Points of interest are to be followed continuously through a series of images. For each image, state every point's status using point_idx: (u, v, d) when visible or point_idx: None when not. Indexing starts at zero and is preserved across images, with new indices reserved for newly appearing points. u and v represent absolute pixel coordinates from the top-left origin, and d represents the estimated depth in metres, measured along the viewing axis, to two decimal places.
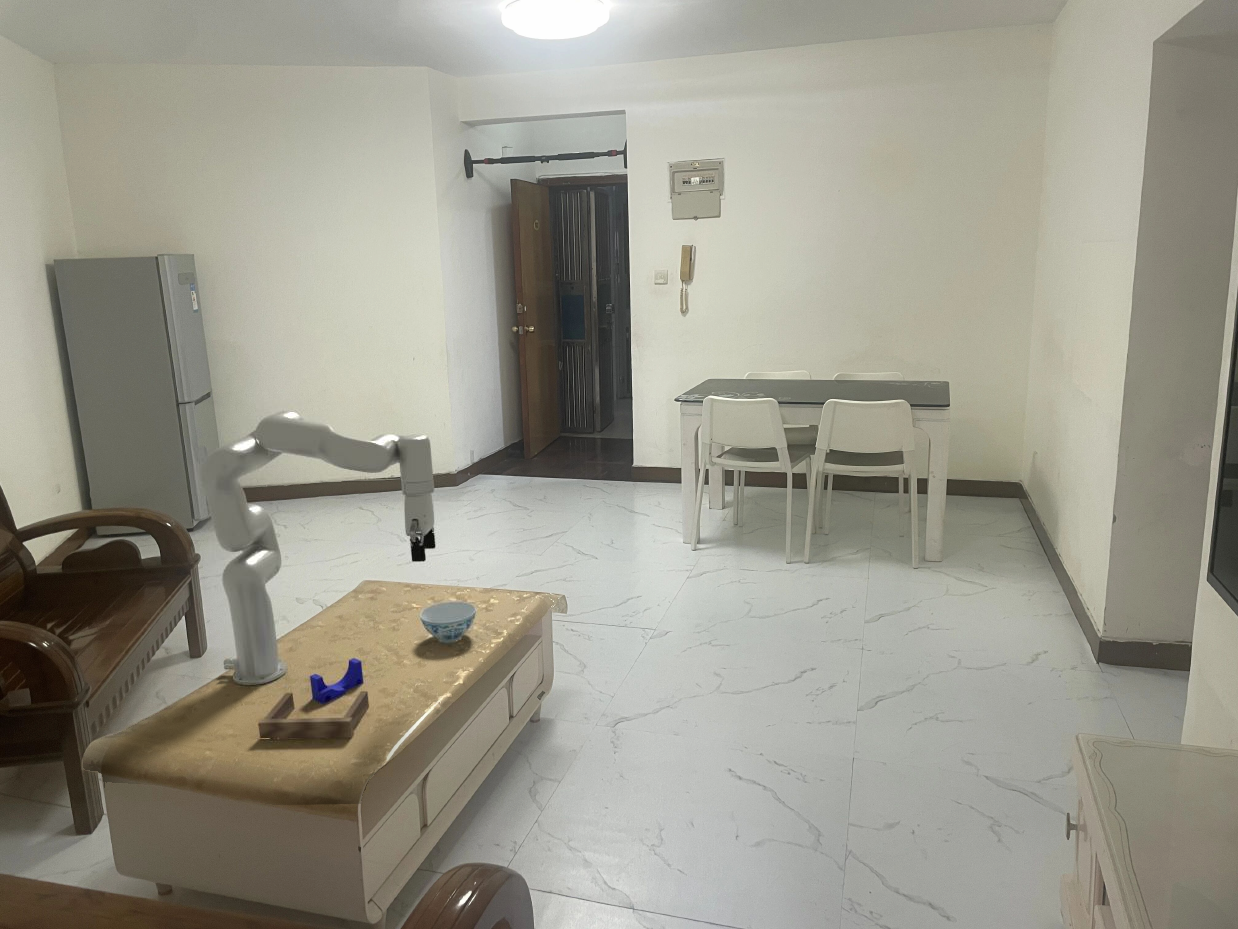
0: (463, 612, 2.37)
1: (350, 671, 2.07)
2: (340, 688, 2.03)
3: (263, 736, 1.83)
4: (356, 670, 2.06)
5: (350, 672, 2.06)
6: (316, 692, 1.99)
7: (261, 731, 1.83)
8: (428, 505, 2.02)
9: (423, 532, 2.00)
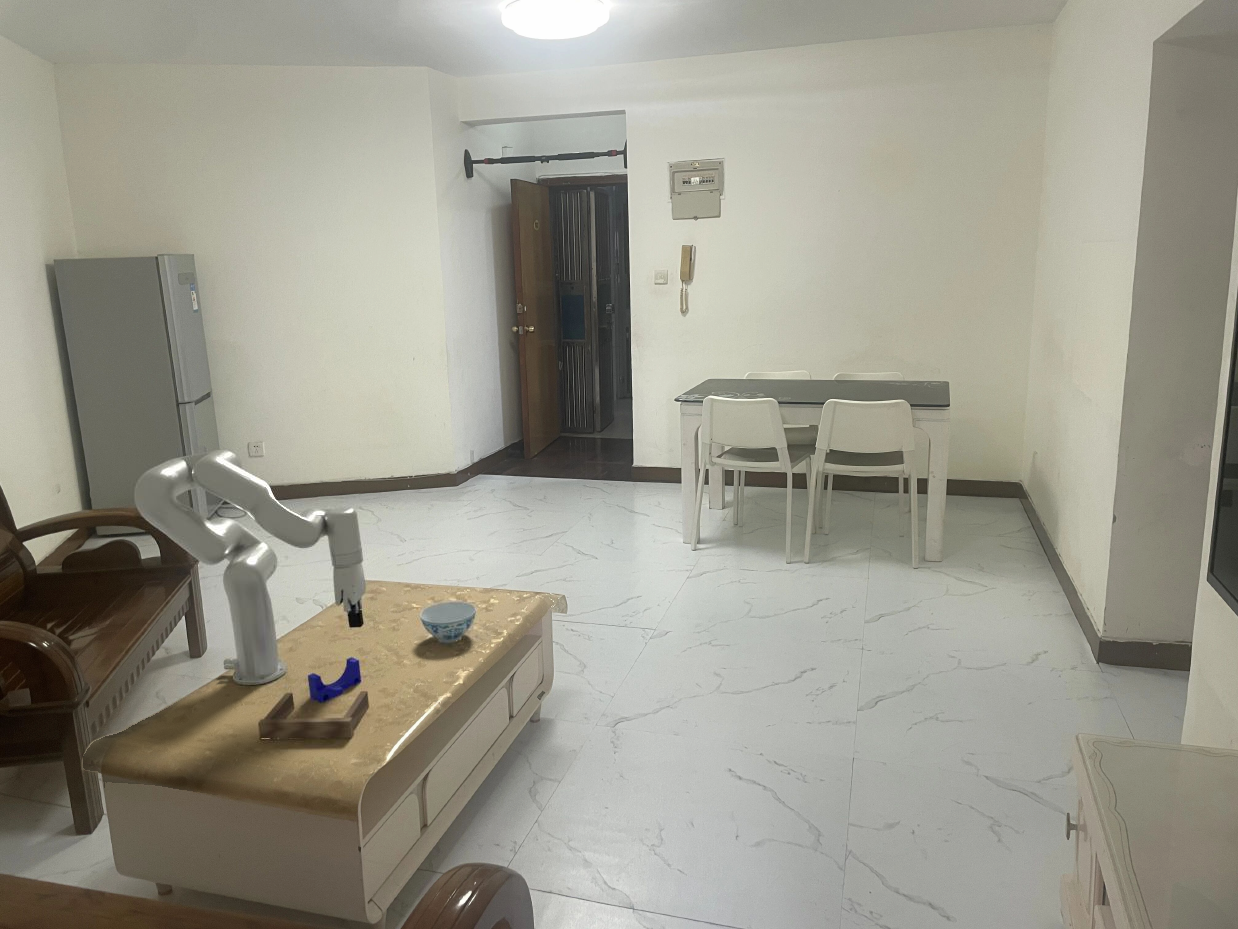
0: (463, 612, 2.37)
1: (348, 670, 2.07)
2: (338, 687, 2.03)
3: (263, 736, 1.83)
4: (354, 669, 2.06)
5: (348, 671, 2.07)
6: (314, 692, 2.00)
7: (261, 731, 1.83)
8: (357, 575, 2.10)
9: (352, 602, 2.08)
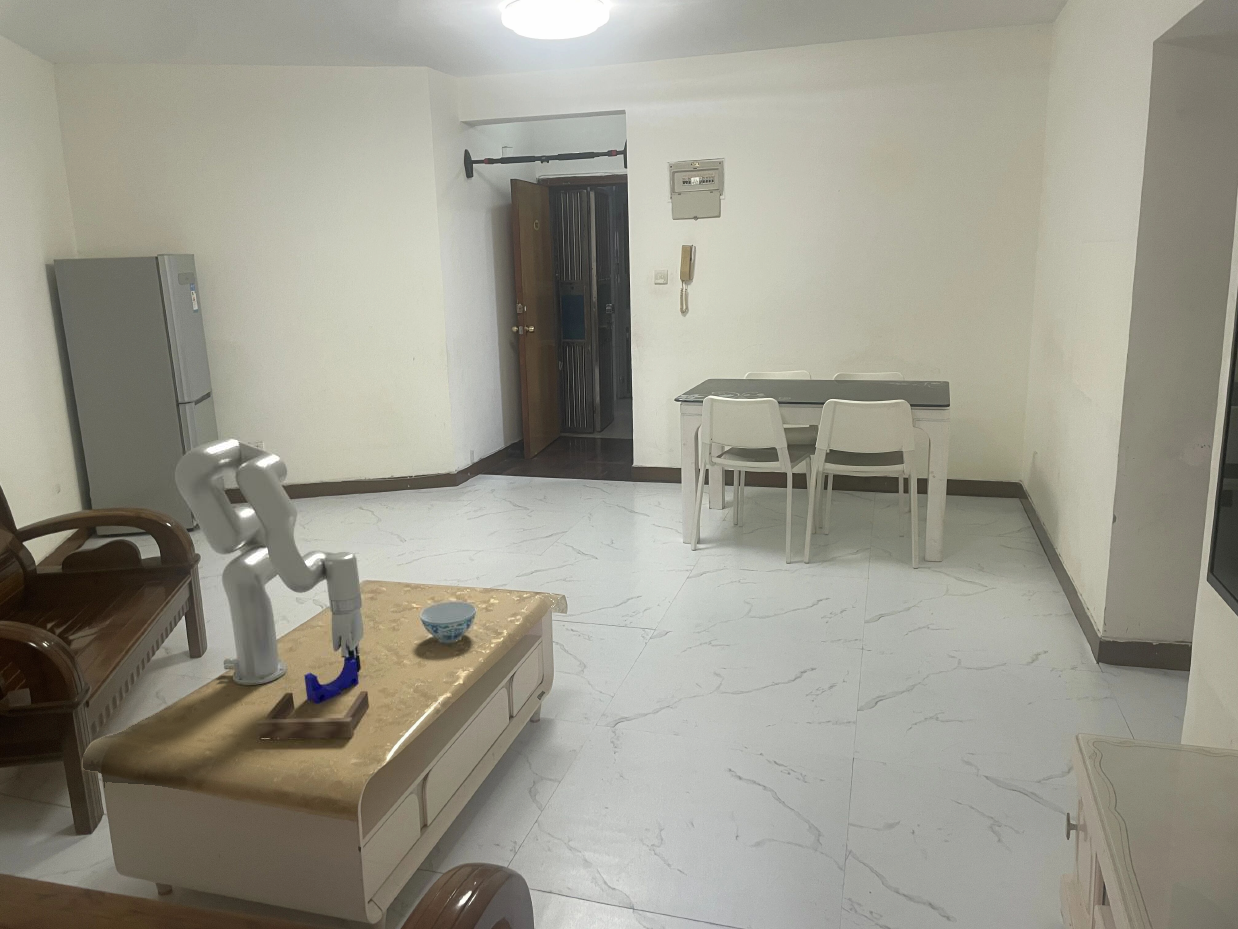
0: (463, 612, 2.37)
1: (345, 670, 2.06)
2: (335, 687, 2.02)
3: (263, 736, 1.83)
4: (351, 669, 2.06)
5: (345, 671, 2.06)
6: (310, 691, 1.99)
7: (261, 731, 1.83)
8: (355, 620, 2.08)
9: (350, 648, 2.06)
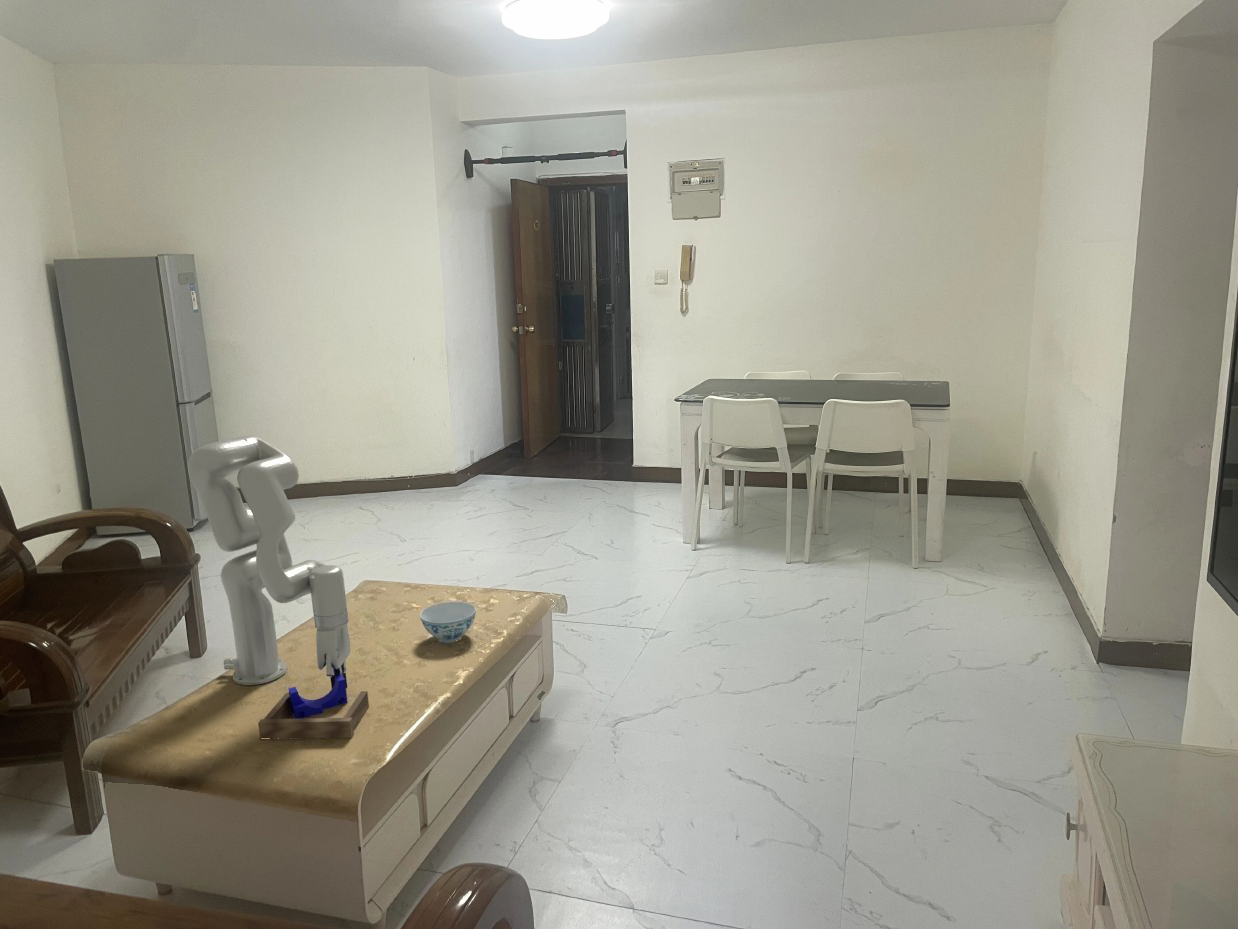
0: (463, 612, 2.37)
1: (335, 688, 1.98)
2: (318, 705, 1.94)
3: (263, 736, 1.83)
4: (338, 688, 1.97)
5: (334, 689, 1.97)
6: (292, 706, 1.93)
7: (261, 731, 1.83)
8: (341, 637, 1.99)
9: (336, 666, 1.96)
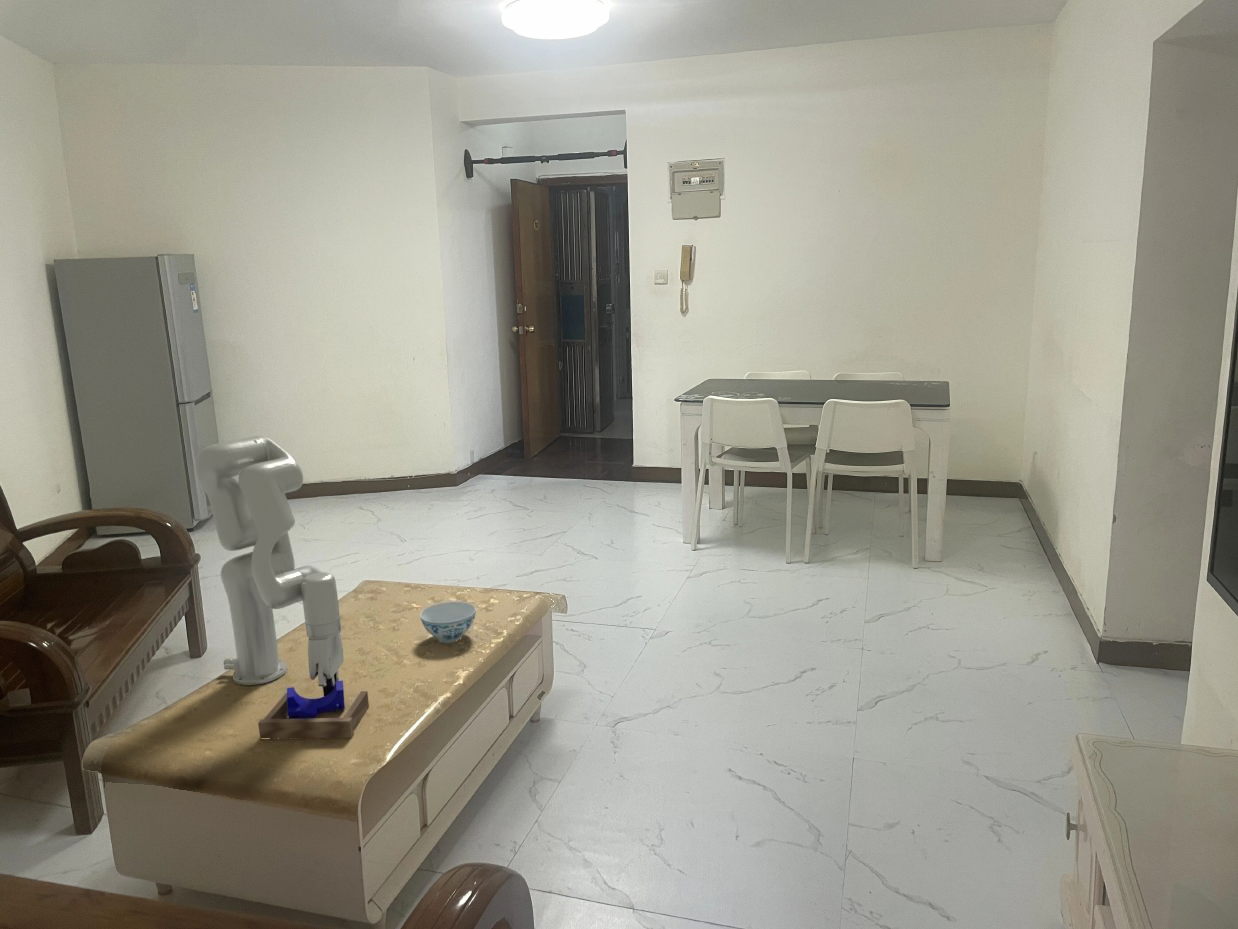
0: (463, 612, 2.37)
1: (333, 693, 1.94)
2: (314, 709, 1.92)
3: (263, 736, 1.83)
4: (336, 696, 1.92)
5: (333, 695, 1.94)
6: None
7: (261, 731, 1.83)
8: (334, 646, 1.94)
9: (328, 676, 1.91)
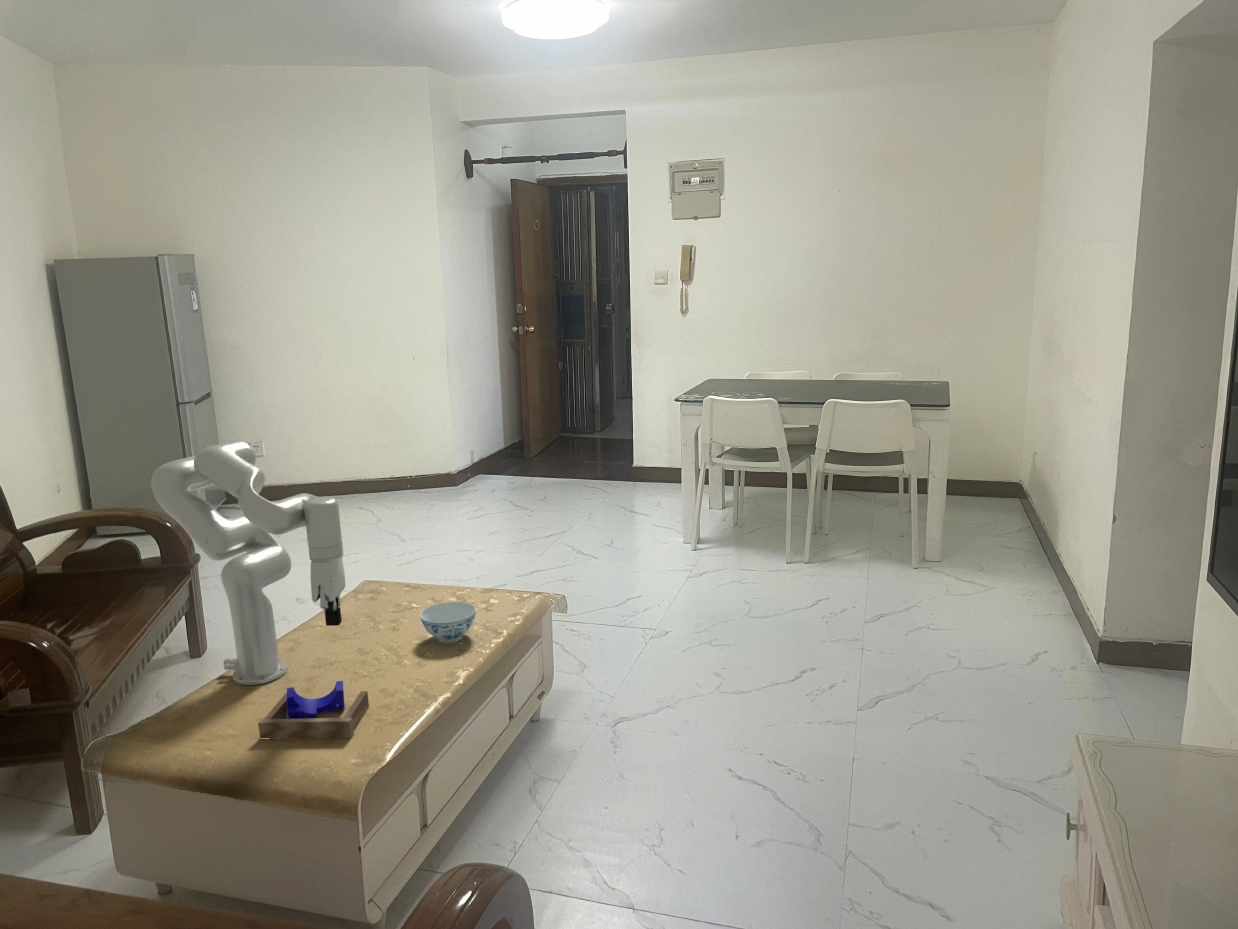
0: (463, 612, 2.37)
1: (333, 693, 1.94)
2: (314, 709, 1.92)
3: (263, 736, 1.83)
4: (336, 697, 1.92)
5: (333, 695, 1.93)
6: None
7: (261, 731, 1.83)
8: (336, 570, 1.97)
9: (330, 598, 1.95)
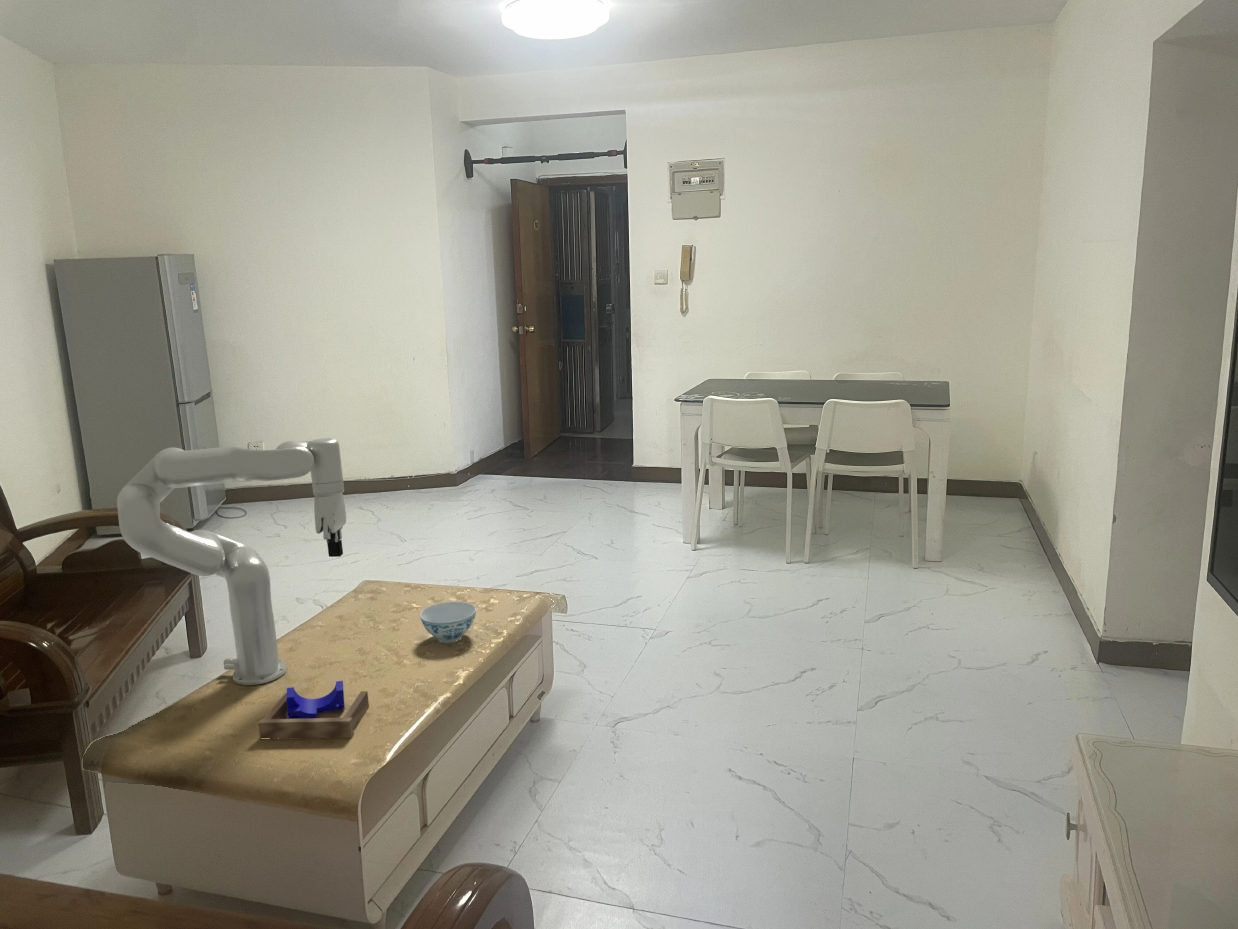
0: (463, 612, 2.37)
1: (333, 693, 1.94)
2: (314, 709, 1.92)
3: (263, 736, 1.83)
4: (336, 697, 1.92)
5: (333, 695, 1.93)
6: None
7: (261, 731, 1.83)
8: (337, 504, 2.15)
9: (332, 530, 2.13)
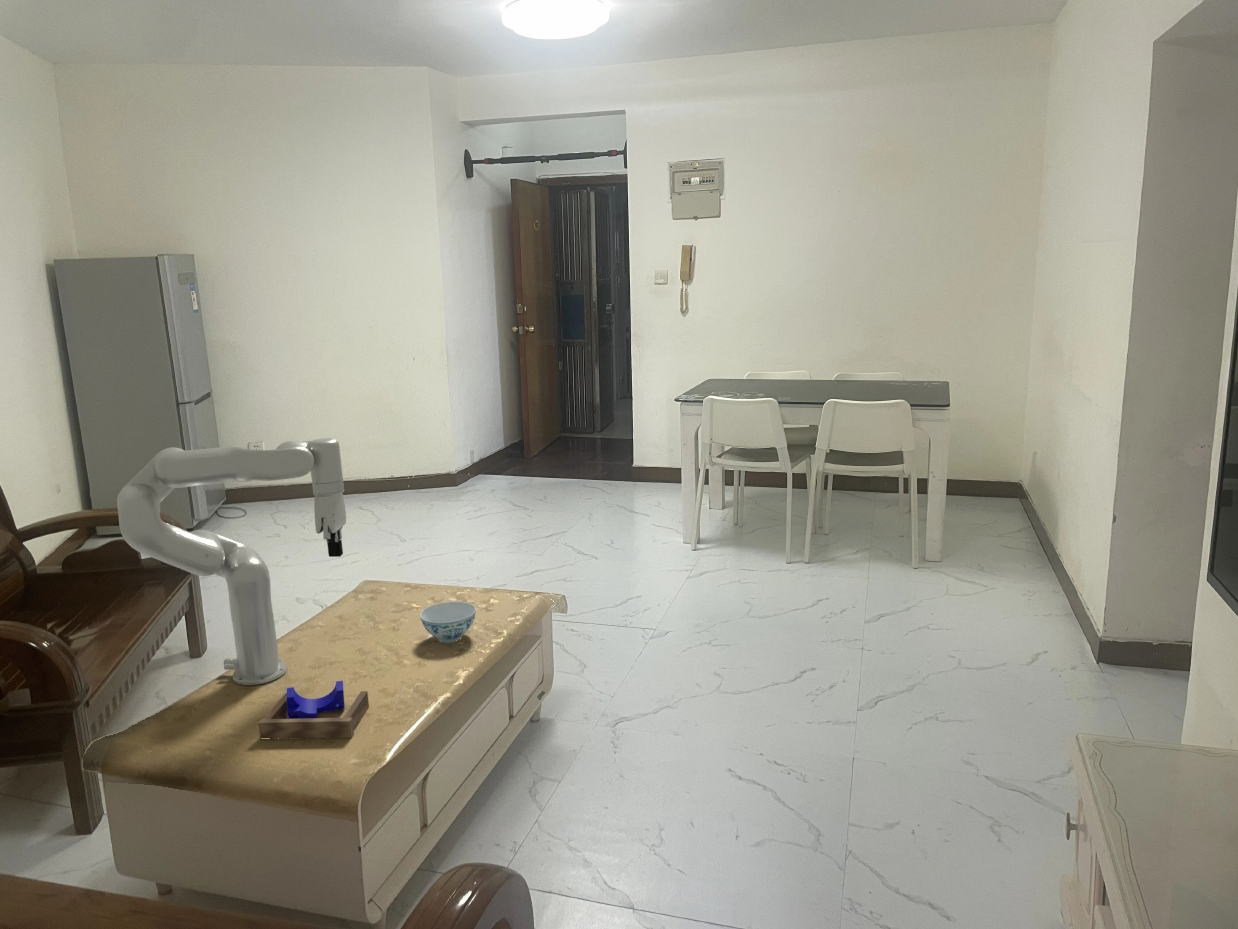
0: (463, 612, 2.37)
1: (333, 693, 1.94)
2: (314, 709, 1.92)
3: (263, 736, 1.83)
4: (336, 697, 1.92)
5: (333, 695, 1.93)
6: None
7: (261, 731, 1.83)
8: (337, 504, 2.15)
9: (332, 530, 2.13)
